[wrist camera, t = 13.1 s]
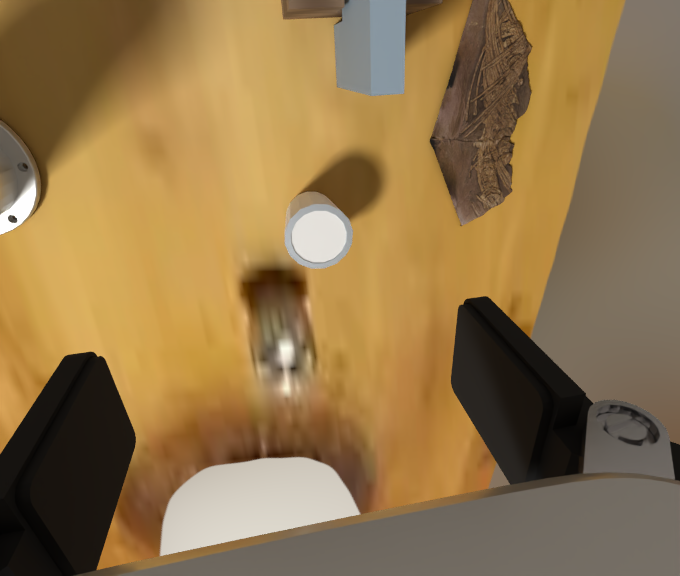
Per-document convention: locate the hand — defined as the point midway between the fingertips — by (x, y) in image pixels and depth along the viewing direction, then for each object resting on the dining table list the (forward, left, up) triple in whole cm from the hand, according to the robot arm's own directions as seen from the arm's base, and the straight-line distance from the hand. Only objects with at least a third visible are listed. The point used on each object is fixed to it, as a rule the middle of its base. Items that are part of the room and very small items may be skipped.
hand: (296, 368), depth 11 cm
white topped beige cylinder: (+4, -8, -36) cm, 38 cm away
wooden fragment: (+23, +2, -37) cm, 44 cm away
